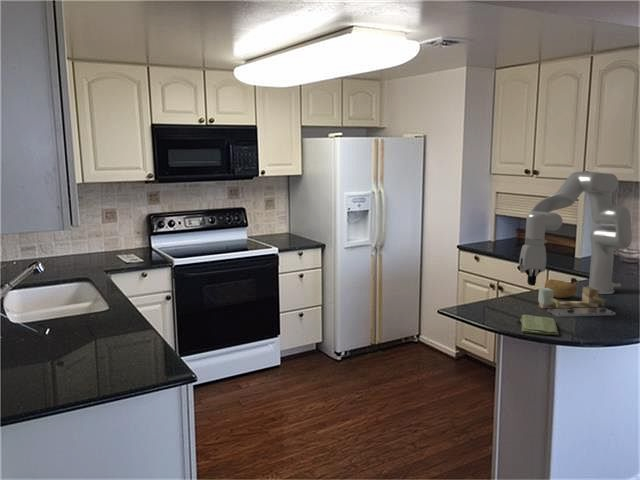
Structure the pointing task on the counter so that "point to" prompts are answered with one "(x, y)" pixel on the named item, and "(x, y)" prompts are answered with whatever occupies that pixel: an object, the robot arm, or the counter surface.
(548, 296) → the block
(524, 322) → the washcloth
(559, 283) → the potato
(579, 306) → the rail
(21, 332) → the counter surface
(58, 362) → the counter surface
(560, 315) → the bolt plate
